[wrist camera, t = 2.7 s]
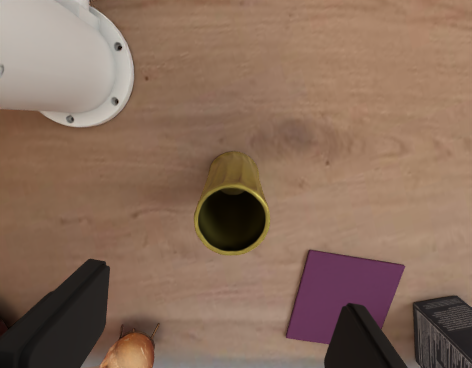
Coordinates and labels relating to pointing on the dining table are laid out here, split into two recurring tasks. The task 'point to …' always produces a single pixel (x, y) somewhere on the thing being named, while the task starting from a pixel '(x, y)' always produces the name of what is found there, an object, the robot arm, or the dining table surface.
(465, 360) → the small box
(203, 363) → the dining table surface
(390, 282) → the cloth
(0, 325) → the dark brown egg
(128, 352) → the pot
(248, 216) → the vase
